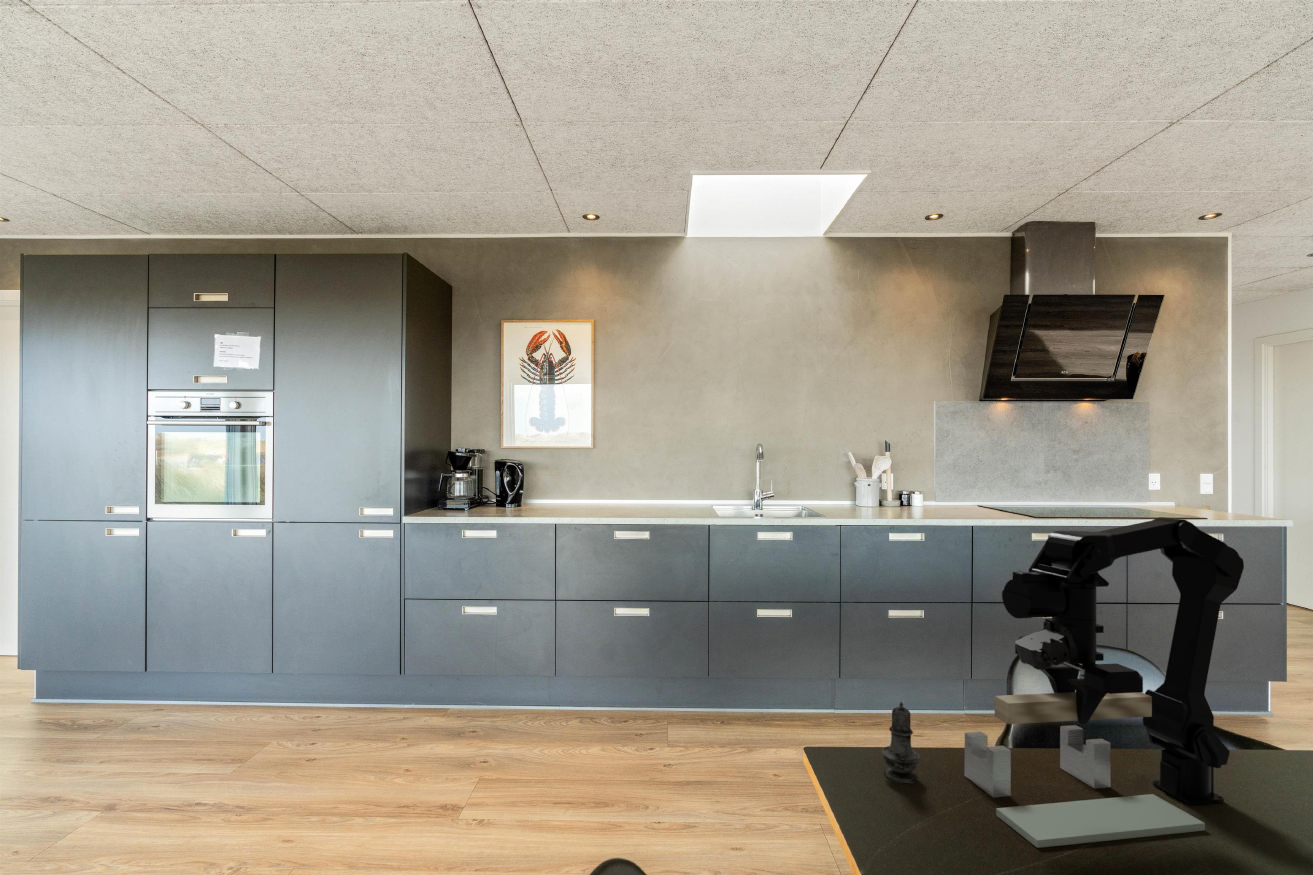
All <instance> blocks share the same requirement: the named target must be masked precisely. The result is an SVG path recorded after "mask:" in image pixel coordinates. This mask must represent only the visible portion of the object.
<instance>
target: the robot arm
mask: <svg viewBox="0 0 1313 875" xmlns="http://www.w3.org/2000/svg"><path fill="white" fill-rule="evenodd" d="M1047 537H1048V538H1047V539H1046V541H1045V543H1044V545H1043V546H1042V548H1041V549H1040V551H1039V552H1038V554H1037V555H1036V557H1035V558H1034V560H1033V562H1032V563H1031V565H1030V567H1029V568H1028V571H1021V570H1015V571H1013V572H1012V579H1010V580H1008V581H1007V582H1006V583H1005V585H1004V587H1003V590H1002V591H1001V597H1002V602H1003V603H1002V604H1003V606H1004V608H1005V610H1006V612H1007V613H1008V614H1009V615H1010V616H1011V617H1013V618H1015V619H1037V618H1040V619H1043V618H1045V620H1044V622H1043V628H1042V630H1040V631H1036V632H1032V633H1030V634H1027V635H1025V636H1019V637H1018V639H1017V640H1015V642H1014V644H1015V645H1014V648H1015V650H1014V653H1015V654H1016V655H1017V656H1019V659H1020V663H1022V664H1024V665H1025V664H1027V665H1029V666H1031V667H1033V669H1035V670H1037V671H1038V670H1039V671H1041V672H1042V673H1043V674H1044V675H1045V676H1046V677H1047V679H1048V681H1049V684H1050V686H1051V688H1052V691H1053V692H1052V693H1068V692H1076V705H1077V716H1078V720H1077V722H1078V724H1079V725H1081V726H1082V725H1083V726H1084V725H1087V724H1088V723H1089V721H1091V720H1090V718H1091V716H1092V715H1093V713H1094V712H1095V710H1096V708H1097V707H1098V705H1099V704H1100V702H1101V700H1102V699H1103V698H1104V697H1105V695H1106V694H1107V693H1109V694H1117V693H1139V692H1142V693H1144V694H1147V695H1149V696H1152V717H1142V725H1143V726H1144V727H1145V730H1146V732H1147V733H1146V734H1147V736H1148V740H1149V742H1150V743H1151V744H1152V745H1156V746H1158V747H1160V748H1162V749H1161V751H1160V752H1161V757H1160V759H1161V760H1159V779H1157V780H1152V781H1151V782H1152V785H1153V786H1154V787H1156V788H1158V789H1160V790H1162V791H1163V792H1166V793H1167V794H1169V795H1171V796H1172V797H1175V798H1177V799H1179V800H1180V801H1182V802H1184V803H1186V804H1188V805H1190V806H1191V805H1203V804H1213V803H1215V804H1216V803H1224V802H1225V797H1224V796H1221V795H1219V794H1217V793H1216V792H1214V791H1215V786H1214V785H1215V783H1214V782H1215V780H1214V779H1215V778H1214V777H1215V773H1214V772H1215V770H1214V769H1221V768H1222V766H1226V765H1227V764H1228V760H1229V758H1230V750H1229V748H1228V747H1227V746H1226V745H1225V744H1224V742H1222V740H1221V739H1219V737H1218V736H1217V735H1216V734H1215V732H1214V724H1215V723H1214V719H1215V716H1214V713H1213V712H1212V709H1211V707H1210V705H1209V702H1208V700H1207V698H1206V696H1205V695H1206V694H1205V692H1206V687H1207V682H1208V675H1209V669H1210V664H1211V660H1212V654H1213V648H1214V643H1215V642H1214V641H1215V638H1216V631H1217V627H1218V626H1217V625H1218V621H1219V617H1220V616H1219V615H1220V611H1221V610H1220V609H1221V605H1222V603H1223V602H1224V601H1226V599H1228V598H1229V597H1230V596H1231V595H1232V594H1234V592H1235V591H1237V589H1238V588H1239V587H1238V586H1239V584H1240V581H1241V578H1242V575H1243V572H1244V569H1245V568H1244V567H1245V564H1244V560H1243V558H1242V557H1241V556H1240V555H1239V552H1238V551H1237V550H1236V549H1235V548H1234V547H1232V546H1229V545H1227V543H1225V542H1223V541H1222V540H1220V539H1217V538H1216V537H1214V536H1212V535H1211V534H1208V533H1206V531H1205V532H1204V531H1203V530H1201V529H1200V528H1199V527H1197V526H1196V525H1195V524H1194V523H1192V522H1190V521H1188V520H1186V519H1182V518H1173V517H1172V518H1171V517H1165V516H1164V517H1162V516H1161V517H1160V516H1159V517H1157V518H1153V519H1152V520H1149V521H1143V522H1138V523H1133V524H1130V525H1123V526H1119V527H1113V528H1109V529H1104V530H1098V531H1086V530H1085V531H1084V530H1055V531H1052V532H1051V533H1049V534H1048V536H1047ZM1157 550H1160V553H1161V554H1162V555H1163V556H1164V557H1165V558H1167V559H1168V560H1169V561H1170V562H1172V565H1171V566H1172V568H1171V576H1172V579H1173V581H1174V583H1175V585H1176V587H1177V590H1178V592H1179V602H1178V607H1177V612H1176V618H1175V622H1174V623H1175V624H1174V627H1173V628H1174V629H1173V633H1172V639H1171V643H1170V644H1171V645H1170V650H1169V655H1168V660H1167V666H1166V671H1165V676H1164V681H1163V682H1162V684H1161V685H1159V686H1158V687H1157V688H1156V689H1155V690H1151V689H1146V691H1145V692H1144V677H1143V676H1142V675H1141V673H1140V672H1138V671H1137V670H1136V669H1132V668H1130V667H1127V666H1125V665H1122V664H1120V663H1096V662H1097V661H1098V662H1100V661H1101V662H1102V661H1103V662H1104V660H1105V659H1104V657H1105V656H1104V653H1102V652H1099V651H1098V650H1097V634H1104V632H1105V631H1104V629H1105V628H1104V625H1102V624H1098V623H1097V588H1100V587H1101V588H1102V587H1109V586H1110V582H1109V581H1108V580H1106V578H1105V577H1103V576H1102V575H1100V573H1099V572H1100V571H1103V570H1105V569H1107V568H1110V567H1111V566H1113V564H1114V562H1115V560H1119V559H1120V558H1124V557H1128V556H1134V555H1138V554H1142V553H1147V552H1151V551H1157Z"/></svg>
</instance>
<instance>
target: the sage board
mask: <svg viewBox="0 0 1313 875" xmlns="http://www.w3.org/2000/svg"><path fill="white" fill-rule="evenodd" d="M995 810H996V811H995V815H996V816H997V817H998V818H999V819H1000V820H1001V821H1003V822H1004V823H1005V824H1006V825H1007V826H1009V827H1011V829H1013V830H1014V831H1015V832H1017V834H1019V835H1020V836H1022V837H1023V838H1024V839H1026V841H1028V842H1029V843H1030V844H1032V845H1033V846H1034V847H1036V849H1037V848H1039V849H1040V848H1049V847H1057V846H1068V845H1078V844H1087V843H1096V842H1105V841H1116V840H1124V839H1125V840H1126V839H1134V838H1144V837H1145V838H1146V837H1154V836H1155V837H1156V836H1163V835H1172V834H1173V835H1174V834H1184V833H1191V832H1201V831H1206V823H1205V822H1203V821H1202V820H1200V819H1198V818H1197V817H1194V816H1192V815H1191V814H1190V813H1188V812H1186V811H1184V810H1182V809H1181V808H1178V807H1177V806H1175V805H1173V804H1172V803H1169V802H1168V801H1166V800H1164V799H1162V797H1159V796H1157V795H1155V794H1153V793H1149V794H1139V795H1130V796H1129V795H1128V796H1127V795H1126V796H1118V797H1107V798H1106V797H1105V798H1096V799H1095V798H1094V799H1086V800H1085V799H1083V800H1073V801H1064V802H1063V801H1060V802H1054V803H1053V802H1051V803H1042V804H1029V805H1017V806H1008V807H998V808H995Z"/></svg>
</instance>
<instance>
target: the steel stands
mask: <svg viewBox="0 0 1313 875" xmlns="http://www.w3.org/2000/svg"><path fill="white" fill-rule="evenodd" d="M1059 729H1060V730H1059V731H1060V732H1059V733H1060V734H1059V750H1060V751H1059V756H1060V757H1059V765H1060V766H1059V767H1060V769H1062V770H1063V771H1065V772H1066V773H1068V774H1070V775H1071V776H1073V777H1074V778H1076V779H1078V780H1080V781H1081V782H1083V783H1084V784H1086V785H1088V786H1089V787H1091V788H1092V789H1096V790H1097V789H1105V788H1106V789H1107V788H1111V778H1112V777H1111V771H1112V770H1111V767H1112V766H1111V760H1112V759H1111V758H1112V757H1111V751H1112V750H1111V745H1112V744H1111V742H1110V741H1107V740H1105V739H1103V738H1093V739H1092V738H1091V739H1090V738H1089V739H1086V740H1085V744H1084V728H1082V727H1081V726H1078V725H1076V724H1075V725H1074V724H1072V725H1061V726H1060V728H1059ZM988 738H989V737H988V735H987V734H986V733H984V732H983V731H971V732H969V731H968V732H967V731H966V732H964V777H966V778H967V779H968V780H970V781H971V782H972V783H973V784H974V785H976V786H977V787H978V788H979V789H981V790H983V791H984V792H985V793H987V795H989V796H991V797H992V798H1001V797H1011V794H1012V793H1011V789H1012V788H1011V778H1012V777H1011V776H1012V775H1011V771H1012V770H1011V766H1012V764H1011V763H1012V760H1011V755H1012V754H1011V753H1012V750H1011V749H1009V747H1007V746H1005V745H994V746H988V740H989V739H988Z"/></svg>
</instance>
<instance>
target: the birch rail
mask: <svg viewBox="0 0 1313 875" xmlns="http://www.w3.org/2000/svg"><path fill="white" fill-rule="evenodd" d="M994 717H996V718H997V719H999V720H1001V721H1002V722H1004V723H1006V724H1007V725H1016V724H1018V725H1019V724H1033V723H1035V724H1036V723H1053V722H1056V723H1057V722H1071V721H1073V722H1075V721H1076V722H1078V716H1077V705H1076V691H1075V692H1068V693H1054V692H1052V693H1051V692H1050V693H1048V692H1047V693H1029V694H1007V695H1006V694H1004V695H994ZM1143 717H1152V696H1149V695H1147V694H1145V692H1139V693H1117V694H1109V693H1107V694H1106V695H1105V697H1104V698H1103V699H1102V700H1101V702H1100V704H1099V705H1098V707H1097V708H1096V710H1095V712H1094V713H1093V715H1092V716H1091V718H1090V720H1089V721H1091V720H1113V719H1114V720H1115V719H1130V718H1143Z"/></svg>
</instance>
